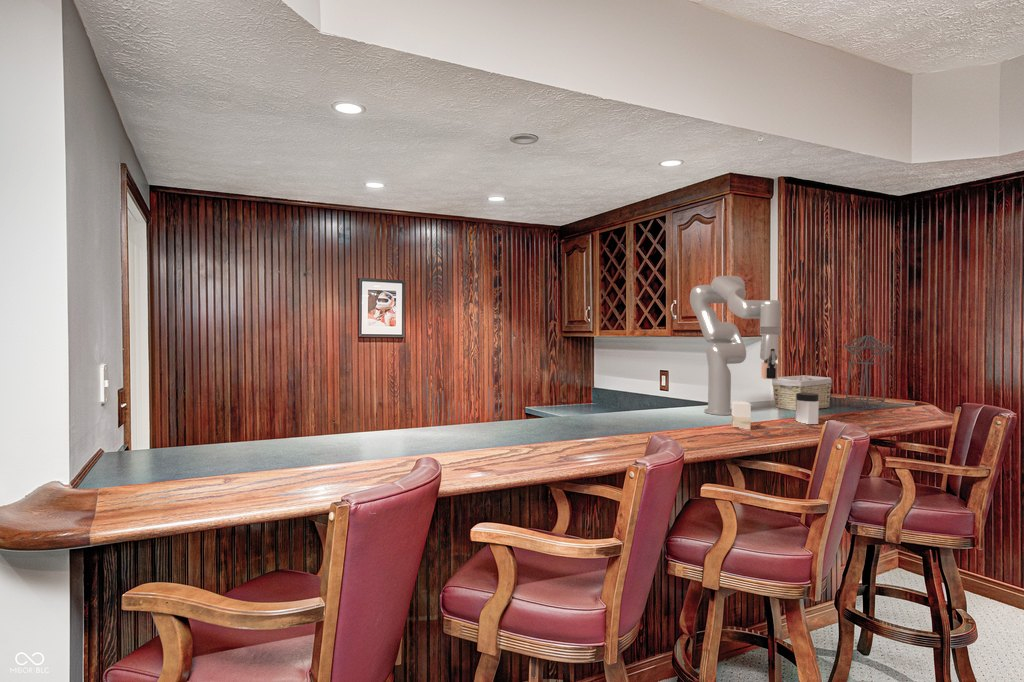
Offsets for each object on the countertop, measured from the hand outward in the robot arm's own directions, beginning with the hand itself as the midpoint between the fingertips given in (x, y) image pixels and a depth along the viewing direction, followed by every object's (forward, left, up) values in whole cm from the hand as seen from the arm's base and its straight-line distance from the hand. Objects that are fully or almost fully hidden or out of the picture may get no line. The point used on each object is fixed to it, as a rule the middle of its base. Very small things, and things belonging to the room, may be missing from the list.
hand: (769, 377), depth 228 cm
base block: (+9, -12, -20) cm, 24 cm away
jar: (-10, +16, -20) cm, 28 cm away
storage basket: (-54, +25, -20) cm, 63 cm away
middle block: (+9, -12, -15) cm, 21 cm away
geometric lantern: (-60, +54, -20) cm, 83 cm away
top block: (0, 0, -1) cm, 1 cm away
